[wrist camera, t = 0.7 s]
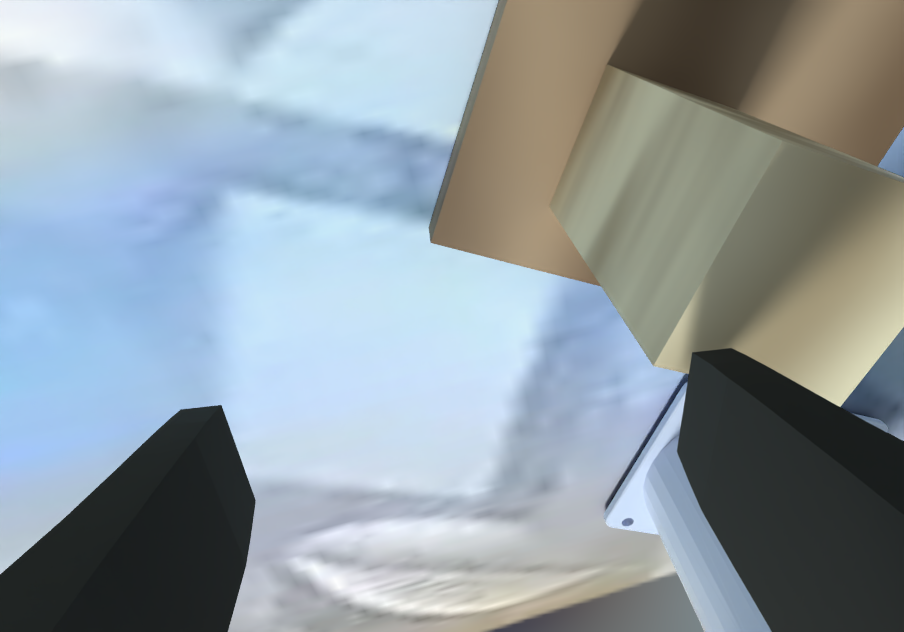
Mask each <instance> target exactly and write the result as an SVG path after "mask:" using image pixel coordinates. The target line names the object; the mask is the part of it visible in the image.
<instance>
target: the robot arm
mask: <svg viewBox="0 0 904 632" xmlns="http://www.w3.org/2000/svg"><path fill="white" fill-rule="evenodd" d="M254 509H255V498H254V495H253V492H252V489H251V487H250V484H249V481H248V478H247V475H246V473H245V470H244V467H243V464H242V461H241V459H240V456H239V453H238V450H237V448H236V445H235V442H234V439H233V436H232V434H231V431H230V428H229V425H228V422H227V420H226V417H225V414H224V411H223V408H222V406H221V405H218V406H209V407H200V408H191V409H183V410H180V411H179V412H177V413H176V414H175V415H174V416H173V417H172V418H170V419H169V420H168V421H167V422H166V423H165V424H164V425H163V426H162V427H161V428H159V429H158V430H157V431H156V432H155V433H154V434H153V435H152V436H151V437H150V438H149V439H148V440H147V441H146V442H145V443H144V444H142V445H141V446H140V447H139V448H138V449H137V450H136V451H135V452H134V453H133V454H132V455H131V456H130V457H129V458H128V459H127V460H126V461H125V462H124V463H123V464H122V465H121V466H119V467H118V468H117V469H116V470H115V471H114V472H113V473H112V474H111V475H110V476H109V477H108V478H107V479H106V480H105V481H104V482H103V483H101V484H100V485H99V486H98V487H97V488H96V489H95V490H94V491H93V492H92V493H91V494H90V495H89V496H88V497H87V498H85V499H84V500H83V501H82V502H81V503H80V504H79V505H78V506H77V507H76V508H75V509H74V510H73V511H72V512H71V513H70V514H68V515H67V516H66V517H65V518H64V519H63V520H62V521H61V522H60V523H59V524H57V525H56V526H55V527H54V528H53V529H52V530H51V531H49V532H48V533H47V534H46V535H45V536H44V537H43V538H41V539H40V540H39V541H38V542H37V543H36V544H35V545H33V546H32V547H31V548H30V549H29V550H28V551H27V552H25V553H24V554H23V555H22V556H21V557H20V558H19V559H17V560H16V561H15V562H14V563H13V564H12V565H11V566H9V567H8V568H7V569H6V570H5V571H4V572H3V573H1V574H0V632H228V628H229V625H230V621H231V618H232V614H233V611H234V607H235V603H236V600H237V596H238V593H239V589H240V585H241V582H242V578H243V574H244V570H245V567H246V562H247V556H248V550H249V544H250V538H251V531H252V523H253V516H254ZM604 519H605V522H606V524H607V525H608V526H610V527H613V528H619V529H625V530H632V531H638V532H645V533H651V534H658V535H660V537H661V540H662V542H663V544H664V546H665V548H666V550H667V552H668V555H669V557H670V559H671V561H672V563H673V565H674V567H675V570H676V572H677V574H678V576H679V578H680V580H681V582H682V584H683V586H684V589H685V591H686V593H687V595H688V597H689V599H690V601H691V604H692V606H693V608H694V610H695V612H696V614H697V616H698V619H699V620H700V623H701V625H702V627H703V629H704V631H705V632H904V441H902V440H900V439H898V438H896V437H895V436H893V435H891V434H889V433H888V427H887V425H886V424H885V423H883V422H882V421H881V420H879V419H875V418H870V417H866V416H862V415H857V414H853V413H850V412H848V411H846V410H844V409H843V408H841V407H839V406H837V405H835V404H834V403H832V402H830V401H828V400H826V399H825V398H823V397H821V396H819V395H818V394H816V393H814V392H812V391H810V390H809V389H807V388H805V387H803V386H802V385H800V384H798V383H796V382H794V381H793V380H791V379H789V378H787V377H785V376H784V375H782V374H780V373H778V372H776V371H775V370H773V369H771V368H769V367H767V366H766V365H764V364H762V363H760V362H758V361H756V360H755V359H753V358H751V357H749V356H747V355H745V354H743V353H741V352H739V351H737V350H735V349H732V348H726V349H717V350H709V351H700V352H692V357H691V363H690V369H689V376H688V382H686V383H685V384H684V385H683V386H682V388H681V390H680V391H679V393H678V394H677V396H676V398H675V399H674V401H673V402H672V404H671V406H670V407H669V409H668V411H667V412H666V414H665V415H664V417H663V419H662V420H661V422H660V424H659V425H658V427H657V428H656V430H655V432H654V433H653V435H652V437H651V438H650V440H649V441H648V443H647V445H646V446H645V448H644V450H643V451H642V453H641V454H640V456H639V458H638V459H637V461H636V462H635V464H634V466H633V467H632V469H631V471H630V472H629V474H628V475H627V477H626V479H625V480H624V482H623V484H622V485H621V487H620V488H619V490H618V492H617V493H616V495H615V497H614V498H613V500H612V501H611V503H610V505H609V506H608V508H607V509H606V511H605V513H604Z"/></svg>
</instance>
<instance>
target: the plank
mask: <svg viewBox="0 0 904 632" xmlns="http://www.w3.org/2000/svg"><path fill="white" fill-rule="evenodd" d="M607 65H610V66H613V67H616V68H619V69H622V70H624V71H627V72H630V73H633V74H636V75H639V76H642V77H644V78H647V79H650V80H653V81H656V82H659V83H662V84H664V85H667V86H670V87H673V88H676V89H679V90H682V91H684V92H687V93H690V94H693V95H696V96H699V97H702V98H704V99H707V100H710V101H713V102H716V103H719V104H722V105H724V106H727V107H730V108H733V109H736V110H738V111H741V112H743V113H746V114H748V115H751V116H753V117H756V118H758V119H761V120H763V121H766V122H768V123H771V124H773V125H776V126H778V127H781V128H783V129H785V130H788V131H790V132H793V133H795V134H798V135H800V136H803V137H805V138H808V139H810V140H813V141H815V142H818V143H820V144H823V145H825V146H828V147H830V148H832V149H835V150H837V151H840V152H842V153H845V154H847V155H850V156H852V157H855V158H857V159H860V160H862V161H865V162H867V163H870V164H872V165H875V166H878V164H879V163H880V161H881V160H882V158H883V157H884V155H885V154H886V152H887V151H888V149H889V148H890V146H891V145H892V143H893V142H894V140H895V139H896V137H897V136H898V134H899V133H900V131H901V130H902V128H903V127H904V0H499V2H498V5H497V9H496V12H495V15H494V18H493V22H492V25H491V28H490V31H489V35H488V38H487V41H486V44H485V47H484V51H483V54H482V57H481V60H480V64H479V67H478V70H477V73H476V77H475V80H474V83H473V86H472V89H471V93H470V96H469V99H468V102H467V106H466V109H465V112H464V115H463V119H462V122H461V125H460V128H459V131H458V135H457V138H456V141H455V144H454V148H453V151H452V154H451V157H450V161H449V164H448V167H447V170H446V173H445V177H444V180H443V183H442V186H441V190H440V193H439V196H438V199H437V203H436V206H435V209H434V212H433V215H432V219H431V222H430V225H429V233H430V241H431V243H434V244H438V245H442V246H446V247H449V248H453V249H457V250H461V251H465V252H469V253H473V254H477V255H481V256H485V257H488V258H492V259H496V260H500V261H504V262H508V263H512V264H516V265H520V266H524V267H528V268H531V269H535V270H539V271H543V272H547V273H551V274H555V275H559V276H563V277H567V278H570V279H574V280H578V281H582V282H586V283H590V284H594V285H598V286H601V285H600V284H599V282H598V281H597V279H596V278H595V276H594V275H593V273H592V271H591V270H590V268H589V267H588V265H587V264H586V262H585V261H584V259H583V258H582V256H581V255H580V253H579V252H578V250H577V249H576V247H575V245H574V244H573V242H572V241H571V239H570V238H569V236H568V235H567V233H566V232H565V230H564V229H563V227H562V226H561V224H560V223H559V221H558V219H557V218H556V216H555V215H554V213H553V212H552V210H551V209H550V207H549V206H550V203H551V201H552V198H553V196H554V193H555V191H556V188H557V186H558V184H559V181H560V179H561V176H562V174H563V171H564V169H565V166H566V164H567V161H568V159H569V157H570V154H571V152H572V149H573V147H574V144H575V142H576V139H577V137H578V134H579V132H580V130H581V127H582V125H583V122H584V120H585V117H586V115H587V112H588V110H589V107H590V105H591V103H592V100H593V98H594V95H595V93H596V90H597V88H598V85H599V83H600V80H601V78H602V76H603V73H604V71H605V68H606V66H607Z"/></svg>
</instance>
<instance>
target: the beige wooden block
mask: <svg viewBox="0 0 904 632" xmlns="http://www.w3.org/2000/svg"><path fill="white" fill-rule="evenodd" d="M549 207H550V209H551V210H552V212H553V213H554V215H555V216H556V218H557V219H558V221H559V223H560V224H561V226H562V227H563V229H564V230H565V232H566V233H567V235H568V236H569V238H570V239H571V241H572V242H573V244H574V245H575V247H576V249H577V250H578V252H579V253H580V255H581V256H582V258H583V259H584V261H585V262H586V264H587V265H588V267H589V268H590V270H591V271H592V273H593V275H594V276H595V278H596V279H597V281H598V282H599V284H600V285H601V287H602V288H603V290H604V291H605V293H606V294H607V296H608V297H609V299H610V300H611V302H612V304H613V305H614V307H615V308H616V310H617V311H618V313H619V314H620V316H621V317H622V319H623V320H624V322H625V323H626V325H627V326H628V328H629V330H630V331H631V333H632V334H633V336H634V337H635V339H636V340H637V342H638V343H639V345H640V346H641V348H642V349H643V351H644V352H645V354H646V356H647V357H648V359H649V360H650V362H651V363H652V365H653V366H656V367H660V368H665V369H669V370H674V371H678V372H682V373H687V374H689V369H690V363H691V357H692V352H700V351H709V350H717V349H726V348H732V349H735V350H737V351H739V352H741V353H743V354H745V355H747V356H749V357H751V358H753V359H755V360H756V361H758V362H760V363H762V364H764V365H766V366H767V367H769V368H771V369H773V370H775V371H776V372H778V373H780V374H782V375H784V376H785V377H787V378H789V379H791V380H793V381H794V382H796V383H798V384H800V385H802V386H803V387H805V388H807V389H809V390H810V391H812V392H814V393H816V394H818V395H819V396H821V397H823V398H825V399H826V400H828V401H830V402H832V403H834V404H835V405H837V406H839V407H841V405H842V404H843V403H844V401H845V400H846V399H847V398H848V396H849V395H850V394H851V393H852V391H853V390H854V389H855V388H856V386H857V385H858V384H859V383H860V381H861V380H862V379H863V378H864V376H865V375H866V374H867V373H868V371H869V370H870V369H871V367H872V366H873V365H874V364H875V362H876V361H877V360H878V359H879V357H880V356H881V355H882V354H883V352H884V351H885V350H886V349H887V347H888V346H889V345H890V344H891V342H892V341H893V340H894V338H895V337H896V336H897V335H898V333H899V332H900V331H901V330H902V328H903V327H904V177H902V176H899V175H897V174H894V173H892V172H889V171H887V170H884V169H882V168H879V167H877V166H875V165H872V164H870V163H867V162H865V161H862V160H860V159H857V158H855V157H852V156H850V155H847V154H845V153H842V152H840V151H837V150H835V149H832V148H830V147H828V146H825V145H823V144H820V143H818V142H815V141H813V140H810V139H808V138H805V137H803V136H800V135H798V134H795V133H793V132H790V131H788V130H785V129H783V128H781V127H778V126H776V125H773V124H771V123H768V122H766V121H763V120H761V119H758V118H756V117H753V116H751V115H748V114H746V113H743V112H741V111H738V110H736V109H733V108H730V107H727V106H724V105H722V104H719V103H716V102H713V101H710V100H707V99H704V98H702V97H699V96H696V95H693V94H690V93H687V92H684V91H682V90H679V89H676V88H673V87H670V86H667V85H664V84H662V83H659V82H656V81H653V80H650V79H647V78H644V77H642V76H639V75H636V74H633V73H630V72H627V71H624V70H622V69H619V68H616V67H613V66H610V65H607V66H606V68H605V71H604V73H603V76H602V78H601V80H600V83H599V85H598V88H597V90H596V93H595V95H594V98H593V100H592V103H591V105H590V107H589V110H588V112H587V115H586V117H585V120H584V122H583V125H582V127H581V130H580V132H579V134H578V137H577V139H576V142H575V144H574V147H573V149H572V152H571V154H570V157H569V159H568V161H567V164H566V166H565V169H564V171H563V174H562V176H561V179H560V181H559V184H558V186H557V188H556V191H555V193H554V196H553V198H552V201H551V203H550V206H549Z"/></svg>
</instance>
